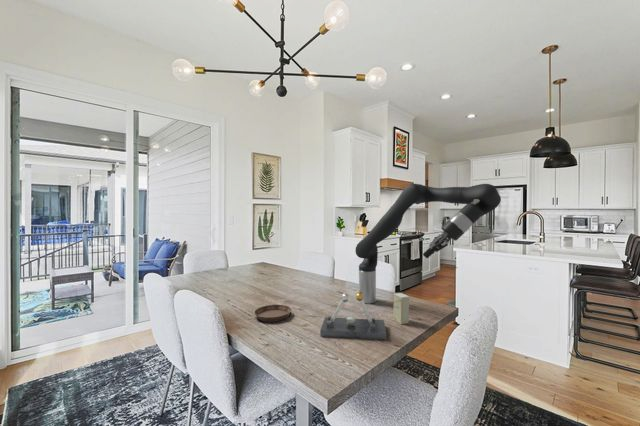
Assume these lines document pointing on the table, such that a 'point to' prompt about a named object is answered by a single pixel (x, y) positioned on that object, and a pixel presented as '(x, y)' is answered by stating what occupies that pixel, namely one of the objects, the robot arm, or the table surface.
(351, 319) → the push button
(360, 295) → the lever handle
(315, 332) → the table surface
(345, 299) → the white lever
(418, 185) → the robot arm
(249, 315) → the table surface
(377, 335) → the switch panel
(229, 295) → the table surface
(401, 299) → the skincare box
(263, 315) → the plant saucer
